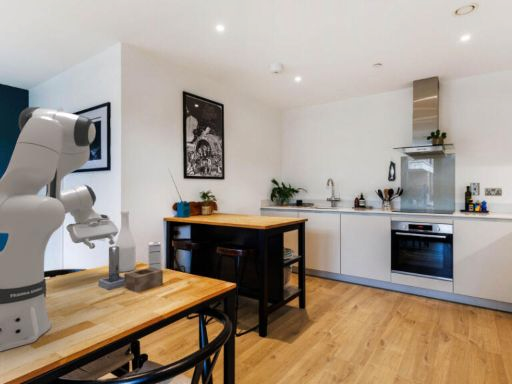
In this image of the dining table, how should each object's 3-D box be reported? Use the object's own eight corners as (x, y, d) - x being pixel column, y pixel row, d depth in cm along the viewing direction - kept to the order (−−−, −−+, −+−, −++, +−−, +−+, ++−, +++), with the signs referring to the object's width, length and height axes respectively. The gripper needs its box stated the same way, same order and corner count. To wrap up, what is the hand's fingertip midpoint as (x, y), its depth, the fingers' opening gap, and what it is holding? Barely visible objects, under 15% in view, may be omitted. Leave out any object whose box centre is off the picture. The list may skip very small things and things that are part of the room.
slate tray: (109, 290, 120) (109, 283, 120) (98, 285, 125) (98, 279, 125) (130, 284, 127) (130, 278, 127) (118, 280, 132) (118, 274, 132)
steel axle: (111, 284, 123) (111, 248, 123) (107, 283, 126) (106, 247, 126) (121, 282, 126) (121, 246, 126) (116, 280, 129) (116, 245, 129)
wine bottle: (134, 271, 146) (134, 210, 146) (113, 273, 144) (112, 210, 143) (136, 266, 155) (136, 209, 155) (116, 268, 153) (116, 209, 152)
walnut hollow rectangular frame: (136, 292, 117) (136, 277, 117) (124, 288, 122) (124, 273, 122) (162, 284, 127) (162, 270, 127) (150, 280, 132) (150, 267, 132)
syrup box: (161, 273, 143) (161, 243, 143) (148, 274, 141) (148, 244, 141) (160, 270, 149) (160, 241, 148) (148, 271, 146) (148, 242, 146)
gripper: (67, 219, 124) (83, 245, 119) (111, 215, 142) (126, 237, 138) (61, 229, 126) (76, 255, 121) (105, 223, 144) (119, 246, 140)
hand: (103, 245), depth 130 cm, fingers open, 8 cm apart
